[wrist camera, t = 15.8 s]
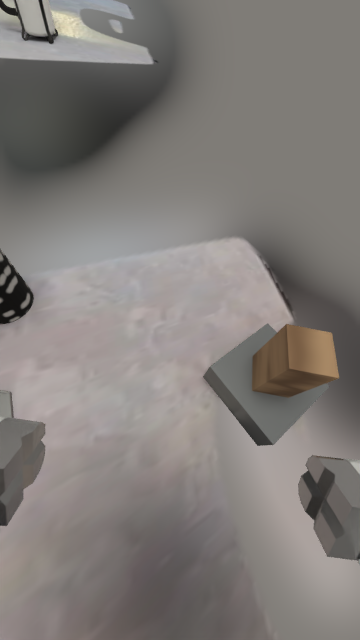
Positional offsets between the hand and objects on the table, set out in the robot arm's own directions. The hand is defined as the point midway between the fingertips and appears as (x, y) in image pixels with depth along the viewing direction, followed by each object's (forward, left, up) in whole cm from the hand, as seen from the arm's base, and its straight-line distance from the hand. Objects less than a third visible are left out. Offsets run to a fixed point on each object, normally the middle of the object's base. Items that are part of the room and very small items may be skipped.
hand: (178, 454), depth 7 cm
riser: (-2, -18, -28) cm, 33 cm away
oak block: (-2, -18, -23) cm, 29 cm away
